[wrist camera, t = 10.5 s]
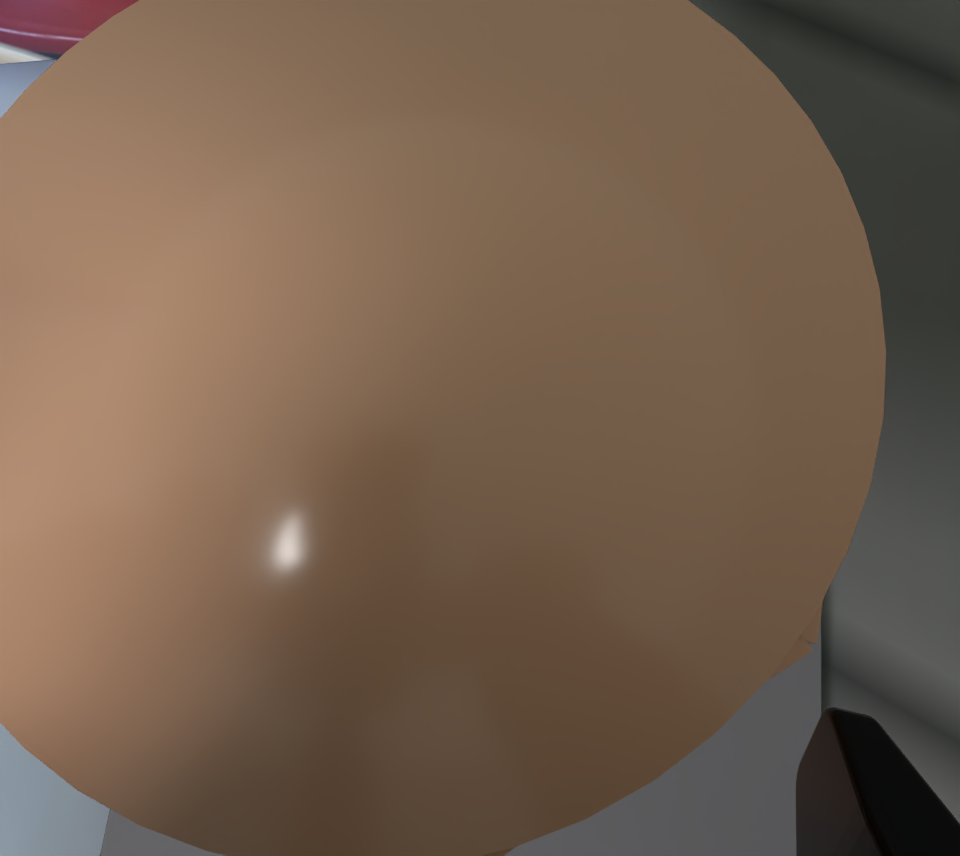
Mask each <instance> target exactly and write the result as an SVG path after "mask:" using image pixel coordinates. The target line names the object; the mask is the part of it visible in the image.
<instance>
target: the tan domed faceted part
mask: <svg viewBox="0 0 960 856" xmlns="http://www.w3.org/2000/svg"><path fill="white" fill-rule="evenodd" d="M885 370H886V345H885V336H884V326H883V316H882V306H881V296H880V288H879V284H878V280H877V276H876V272H875V268H874V264H873V260H872V256H871V252H870V248H869V244H868V240H867V236H866V232H865V229H864V226H863V224H862V221H861V219H860V216H859V214H858V211H857V209H856V207H855V204H854V202H853V199H852V197H851V194H850V192H849V189H848V187H847V185H846V182H845V180H844V177H843V175H842V172H841V171H840V169H839V167H838V166H837V164H836V162H835V160H834V159H833V157H832V155H831V154H830V152H829V150H828V148H827V147H826V145H825V143H824V142H823V140H822V138H821V137H820V135H819V133H818V131H817V130H816V128H815V126H814V125H813V123H812V121H811V120H810V119H809V117H808V116H807V115H806V114H805V112H804V111H803V110H802V108H801V107H800V106H799V105H798V103H797V102H796V101H795V99H794V98H793V97H792V96H791V94H790V93H789V92H788V91H787V89H786V88H785V87H784V85H783V84H782V83H781V82H780V80H779V79H778V78H777V77H776V75H775V74H774V73H773V72H772V71H771V70H770V69H769V68H768V67H766V66H765V65H764V64H763V63H762V62H761V61H760V60H759V59H758V58H757V57H756V56H755V55H754V54H753V53H752V52H751V51H750V50H749V49H748V48H747V47H746V46H745V45H744V44H743V43H742V42H741V41H740V40H739V39H738V38H737V37H736V36H735V35H733V34H732V33H731V32H729V31H728V30H727V29H725V28H724V27H723V26H722V25H720V24H719V23H718V22H716V21H715V20H714V19H712V18H711V17H710V16H708V15H707V14H706V13H704V12H703V11H702V10H700V9H699V8H698V7H696V6H695V5H694V4H692V3H691V2H690V1H688V0H139V1H137V2H136V3H134V4H132V5H131V6H129V7H127V8H126V9H124V10H123V11H121V12H119V13H118V14H116V15H114V16H113V17H111V18H110V19H109V20H107V21H106V22H105V23H103V24H102V25H101V26H99V27H98V28H97V29H95V30H94V31H93V32H91V33H90V34H89V35H87V36H86V37H85V38H83V39H82V40H81V41H80V42H78V43H77V44H76V45H74V46H73V47H72V48H70V49H69V50H68V51H66V52H65V53H64V54H63V55H62V56H61V57H60V58H59V59H58V60H57V61H56V62H55V63H54V64H53V65H51V66H50V67H49V68H48V69H47V70H46V71H45V72H44V73H43V74H42V75H41V76H40V77H39V78H38V79H37V80H35V81H34V82H33V83H32V84H31V85H30V86H29V87H28V88H27V89H26V90H25V91H24V92H23V93H22V94H21V96H20V97H19V98H18V99H17V100H16V101H15V103H14V104H13V105H12V106H11V107H10V108H9V110H8V111H7V112H6V113H5V114H4V115H3V116H2V118H1V119H0V722H1V724H2V725H3V726H4V727H5V728H6V729H7V730H8V731H9V732H10V733H11V734H12V735H13V737H14V738H15V739H16V740H17V741H18V742H19V743H20V744H21V745H22V746H23V747H24V748H25V749H26V750H28V751H29V752H30V753H31V754H33V755H34V756H35V757H36V758H38V759H39V760H40V761H41V762H43V763H44V764H45V765H46V766H48V767H49V768H50V769H51V770H53V771H54V772H55V773H56V774H58V775H59V776H60V777H62V778H63V779H64V780H65V781H67V782H68V783H69V784H70V785H72V786H73V787H74V788H75V789H77V790H78V791H80V792H82V793H83V794H85V795H87V796H89V797H90V798H92V799H94V800H96V801H97V802H99V803H101V804H103V805H104V806H106V807H108V808H110V809H111V810H113V811H115V812H117V813H118V814H120V815H122V816H124V817H125V818H127V819H129V820H131V821H133V822H134V823H136V824H138V825H140V826H142V827H145V828H148V829H150V830H153V831H156V832H158V833H161V834H163V835H166V836H169V837H171V838H174V839H176V840H179V841H182V842H184V843H187V844H189V845H192V846H195V847H197V848H200V849H203V850H205V851H208V852H213V853H217V854H222V855H227V856H504V855H505V854H507V853H508V852H510V851H511V850H513V849H514V848H516V847H517V846H519V845H521V844H524V843H526V842H529V841H531V840H534V839H536V838H539V837H542V836H544V835H547V834H549V833H552V832H554V831H557V830H560V829H562V828H565V827H567V826H570V825H572V824H575V823H577V822H580V821H583V820H585V819H587V818H589V817H591V816H592V815H594V814H596V813H598V812H600V811H601V810H603V809H605V808H607V807H608V806H610V805H612V804H614V803H615V802H617V801H619V800H621V799H622V798H624V797H626V796H628V795H630V794H631V793H633V792H635V791H637V790H638V789H640V788H642V787H644V786H645V785H647V784H649V783H651V782H652V781H654V780H656V779H657V778H658V777H660V776H661V775H662V774H663V773H665V772H666V771H667V770H669V769H670V768H671V767H672V766H674V765H675V764H676V763H678V762H679V761H680V760H682V759H683V758H684V757H685V756H687V755H688V754H689V753H691V752H692V751H693V750H694V749H696V748H697V747H698V746H700V745H701V744H702V743H704V742H705V741H706V740H707V739H709V738H710V737H711V736H713V735H714V734H715V733H716V732H717V731H718V730H719V729H720V728H721V727H722V726H723V725H724V724H725V723H726V722H727V721H728V720H729V719H730V718H731V717H732V716H733V715H734V714H735V713H736V712H737V711H738V710H739V709H740V708H741V707H742V706H743V705H744V704H745V702H746V701H747V700H748V699H749V698H750V697H751V696H752V695H753V694H754V693H755V692H756V691H757V690H758V689H759V688H760V687H761V686H762V685H763V684H764V683H765V682H766V681H768V680H769V679H771V678H772V677H774V676H775V675H777V674H778V673H780V672H781V671H783V670H784V669H786V668H787V667H789V666H790V665H792V664H793V663H795V662H797V661H798V660H800V659H801V658H803V657H804V656H806V655H807V654H809V653H810V652H812V651H813V650H812V648H811V647H810V646H809V644H817V642H818V635H819V627H820V619H821V611H822V604H823V598H824V596H825V594H826V592H827V590H828V588H829V586H830V584H831V582H832V581H833V579H834V577H835V575H836V573H837V571H838V569H839V567H840V565H841V563H842V561H843V560H844V558H845V556H846V554H847V552H848V549H849V546H850V543H851V540H852V537H853V534H854V532H855V529H856V526H857V523H858V520H859V517H860V514H861V511H862V509H863V506H864V503H865V500H866V497H867V494H868V491H869V489H870V486H871V480H872V475H873V470H874V465H875V460H876V454H877V449H878V444H879V439H880V434H881V428H882V423H883V416H884V393H885Z"/></svg>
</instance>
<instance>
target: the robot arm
mask: <svg viewBox="0 0 960 856" xmlns="http://www.w3.org/2000/svg"><path fill="white" fill-rule="evenodd" d="M796 856H960V823H959V822H958V821H957V820H956V818H955V817H954V816H953V815H952V813H951V812H950V811H949V810H948V809H947V807H946V806H945V805H944V804H943V802H942V801H941V800H940V799H939V797H938V796H937V795H936V794H935V792H934V791H933V790H932V789H931V787H930V786H929V785H928V784H927V782H926V781H925V780H924V779H923V777H922V776H921V775H920V774H919V772H918V771H917V770H916V769H915V768H914V766H913V765H912V764H911V763H910V761H909V760H908V759H907V758H906V756H905V755H904V754H903V753H902V751H901V750H900V749H899V748H898V746H897V745H896V744H895V743H894V741H893V740H892V739H891V738H890V736H889V735H888V734H887V733H886V731H885V730H884V729H883V728H882V726H881V725H880V724H879V723H878V722H877V721H876V720H875V719H873V718H872V717H870V716H868V715H865V714H860V713H856V712H852V711H848V710H844V709H839V708H828V709H826V710H825V711H824V712H823V714H822V715H821V717H820V719H819V721H818V723H817V725H816V728H815V730H814V732H813V734H812V737H811V739H810V741H809V743H808V746H807V748H806V750H805V752H804V754H803V757H802V759H801V761H800V764H799V767H798V771H797V777H796Z"/></svg>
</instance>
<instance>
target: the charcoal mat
mask: <svg viewBox="0 0 960 856" xmlns="http://www.w3.org/2000/svg"><path fill="white" fill-rule="evenodd" d="M809 646H810V647H811V648H812V650H813V651H812V652H810V653H809V654H807V655H806V656H804V657H803V658H801V659H800V660H798V661H797V662H795V663H793V664H792V665H790V666H789V667H787V668H786V669H784V670H783V671H781V672H780V673H778V674H777V675H775V676H774V677H772V678H771V679H769V680H768V681H766V682H765V683H764V684H763V685H762V686H761V687H760V688H759V689H758V690H757V691H756V692H755V693H754V694H753V695H752V696H751V697H750V698H749V699H748V700H747V701H746V702H745V704H744V705H743V706H742V707H741V708H740V709H739V710H738V711H737V712H736V713H735V714H734V715H733V716H732V717H731V718H730V719H729V720H728V721H727V722H726V723H725V724H724V725H723V726H722V727H721V728H720V729H719V730H718V731H717V732H716V733H715V734H714V735H713V736H711V737H710V738H709V739H707V740H706V741H705V742H704V743H702V744H701V745H700V746H698V747H697V748H696V749H694V750H693V751H692V752H691V753H689V754H688V755H687V756H685V757H684V758H683V759H682V760H680V761H679V762H678V763H676V764H675V765H674V766H672V767H671V768H670V769H669V770H667V771H666V772H665V773H663V774H662V775H661V776H660V777H658V778H657V779H656V780H654V781H652V782H651V783H649V784H647V785H645V786H644V787H642V788H640V789H638V790H637V791H635V792H633V793H631V794H630V795H628V796H626V797H624V798H622V799H621V800H619V801H617V802H615V803H614V804H612V805H610V806H608V807H607V808H605V809H603V810H601V811H600V812H598V813H596V814H594V815H592V816H591V817H589V818H587V819H585V820H583V821H580V822H577V823H575V824H572V825H570V826H567V827H565V828H562V829H560V830H557V831H554V832H552V833H549V834H547V835H544V836H542V837H539V838H536V839H534V840H531V841H529V842H526V843H524V844H521V845H519V846H517V847H516V848H514V849H513V850H511V851H510V852H508V853H507V854H505V855H504V856H796V777H797V771H798V767H799V764H800V761H801V759H802V757H803V754H804V752H805V750H806V748H807V746H808V743H809V741H810V739H811V737H812V734H813V732H814V730H815V728H816V725H817V723H818V721H819V719H820V717H821V619H820V627H819V635H818V642H817V644H809ZM100 856H227V855H222V854H217V853H213V852H208V851H205V850H203V849H200V848H197V847H195V846H192V845H189V844H187V843H184V842H182V841H179V840H176V839H174V838H171V837H169V836H166V835H163V834H161V833H158V832H156V831H153V830H150V829H148V828H145V827H142V826H140V825H138V824H136V823H134V822H133V821H131V820H129V819H127V818H125V817H124V816H122V815H120V814H118V813H117V812H115V811H113V810H111V809H110V811H109V816H108V820H107V825H106V830H105V834H104V839H103V844H102V849H101V853H100Z"/></svg>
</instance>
